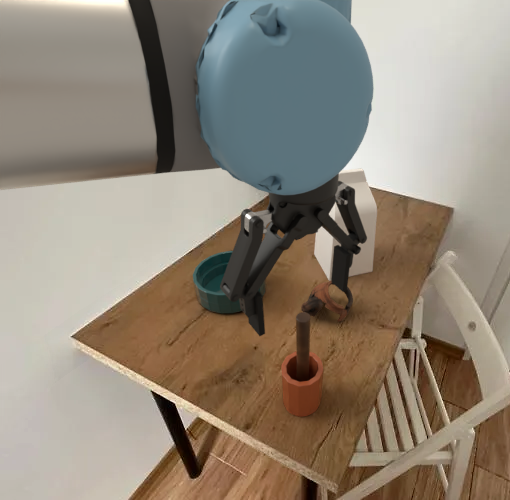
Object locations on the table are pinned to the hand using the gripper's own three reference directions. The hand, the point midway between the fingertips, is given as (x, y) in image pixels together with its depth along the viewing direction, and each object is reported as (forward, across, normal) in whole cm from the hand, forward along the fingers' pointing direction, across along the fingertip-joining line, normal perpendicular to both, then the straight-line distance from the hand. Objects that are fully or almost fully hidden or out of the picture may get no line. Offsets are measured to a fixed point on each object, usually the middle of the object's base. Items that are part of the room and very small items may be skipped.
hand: (301, 305), depth 48 cm
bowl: (+23, -4, -32) cm, 40 cm away
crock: (+23, 0, 0) cm, 23 cm away
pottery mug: (+23, -16, -14) cm, 32 cm away
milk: (+23, -32, -25) cm, 46 cm away
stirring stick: (+22, -1, 0) cm, 22 cm away
